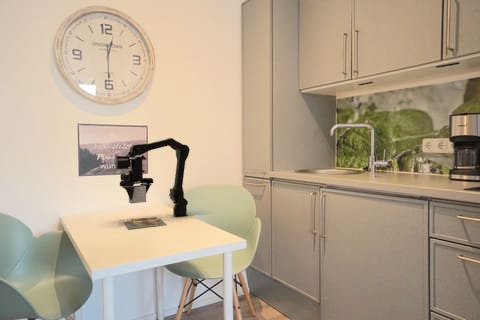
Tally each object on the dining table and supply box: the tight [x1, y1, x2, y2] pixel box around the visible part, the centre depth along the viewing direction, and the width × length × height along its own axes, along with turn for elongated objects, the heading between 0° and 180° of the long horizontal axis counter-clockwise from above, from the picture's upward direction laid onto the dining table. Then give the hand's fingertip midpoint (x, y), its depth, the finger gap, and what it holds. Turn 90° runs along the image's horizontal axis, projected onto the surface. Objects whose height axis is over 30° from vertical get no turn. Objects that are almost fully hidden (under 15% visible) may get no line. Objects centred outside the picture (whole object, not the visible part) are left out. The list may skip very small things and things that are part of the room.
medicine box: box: [128, 184, 147, 205], centre depth 170 cm, size 8×4×9 cm, turn 123°
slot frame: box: [130, 216, 160, 226], centre depth 163 cm, size 12×8×2 cm
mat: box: [124, 218, 168, 231], centre depth 163 cm, size 18×16×1 cm
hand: (137, 198), depth 170 cm, fingers closed on medicine box, 9 cm apart
